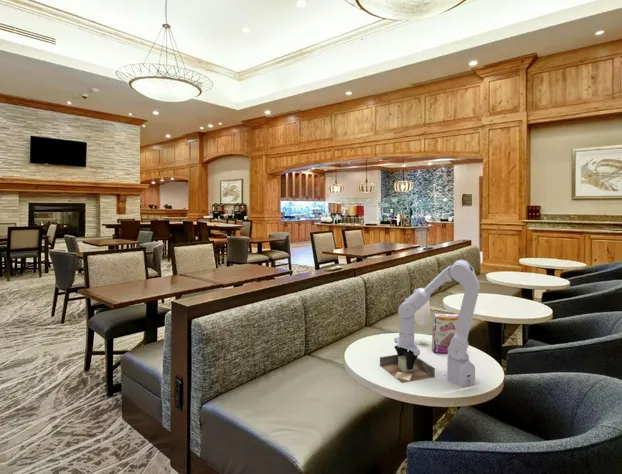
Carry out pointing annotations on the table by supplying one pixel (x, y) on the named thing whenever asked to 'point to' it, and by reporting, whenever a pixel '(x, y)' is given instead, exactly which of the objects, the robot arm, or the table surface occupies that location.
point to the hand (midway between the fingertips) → (406, 366)
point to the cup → (422, 314)
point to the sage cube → (404, 364)
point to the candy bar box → (443, 331)
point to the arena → (420, 371)
